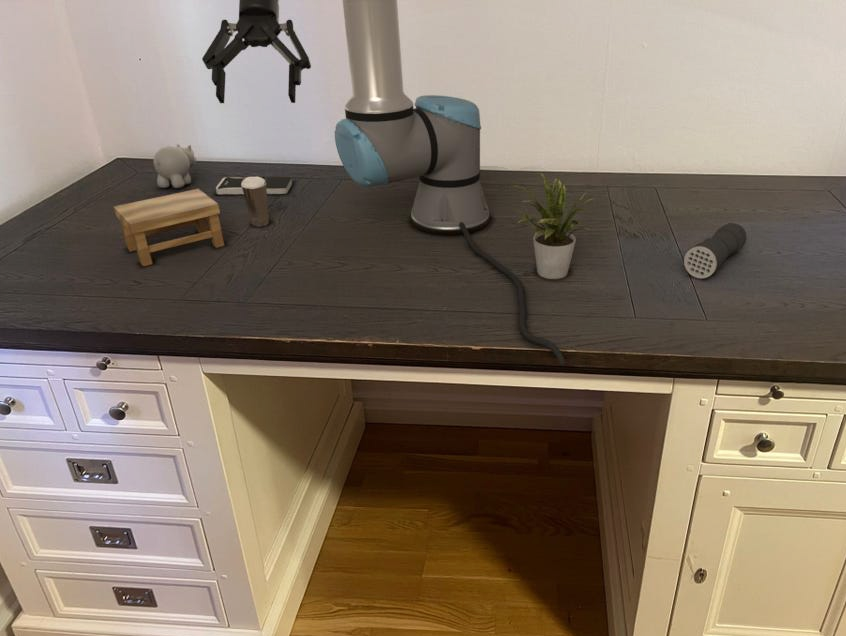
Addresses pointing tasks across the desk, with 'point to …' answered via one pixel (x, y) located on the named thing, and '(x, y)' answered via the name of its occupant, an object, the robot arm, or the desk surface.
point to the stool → (169, 221)
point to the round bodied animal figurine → (174, 165)
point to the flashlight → (714, 250)
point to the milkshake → (256, 200)
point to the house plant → (553, 233)
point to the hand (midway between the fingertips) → (256, 99)
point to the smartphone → (272, 183)
